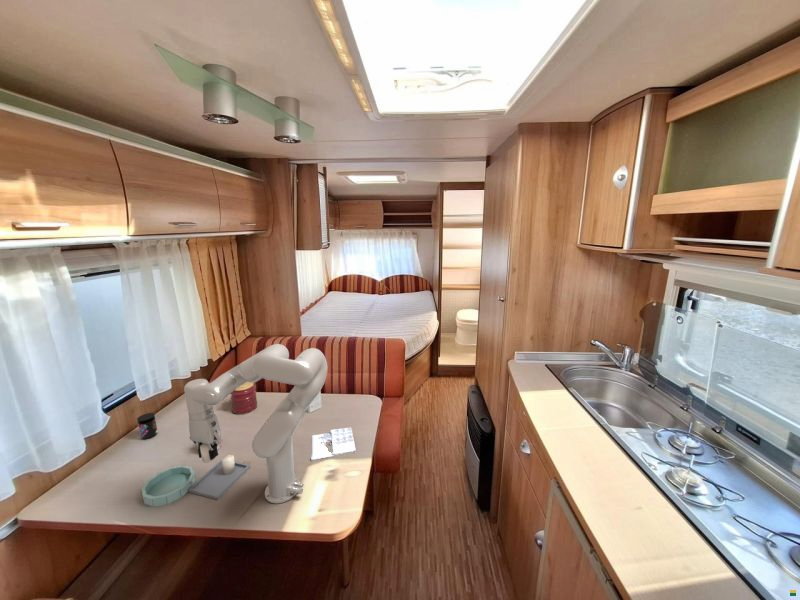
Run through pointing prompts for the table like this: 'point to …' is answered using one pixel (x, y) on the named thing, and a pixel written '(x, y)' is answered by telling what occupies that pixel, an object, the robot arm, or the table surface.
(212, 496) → the parts tray
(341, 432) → the open book
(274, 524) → the table surface
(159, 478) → the bowl
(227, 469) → the pebble
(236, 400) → the canister
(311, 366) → the robot arm
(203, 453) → the cream egg
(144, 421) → the supplement container
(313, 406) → the small box
